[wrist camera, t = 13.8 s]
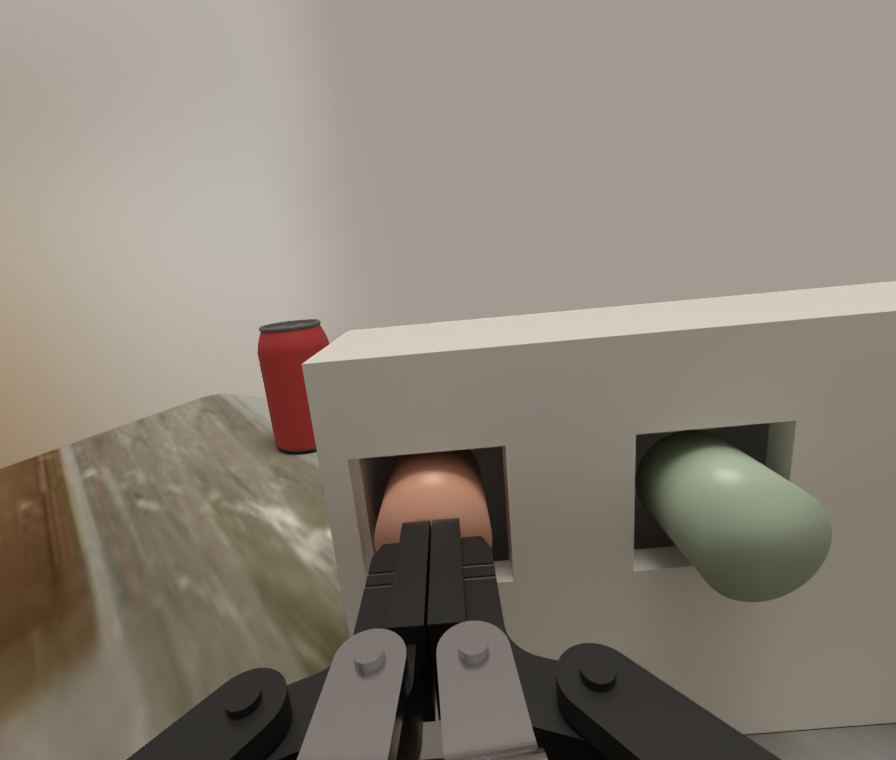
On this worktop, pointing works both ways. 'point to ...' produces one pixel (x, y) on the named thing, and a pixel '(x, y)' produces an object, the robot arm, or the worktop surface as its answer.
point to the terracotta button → (434, 494)
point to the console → (614, 473)
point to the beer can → (289, 379)
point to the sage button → (733, 516)
